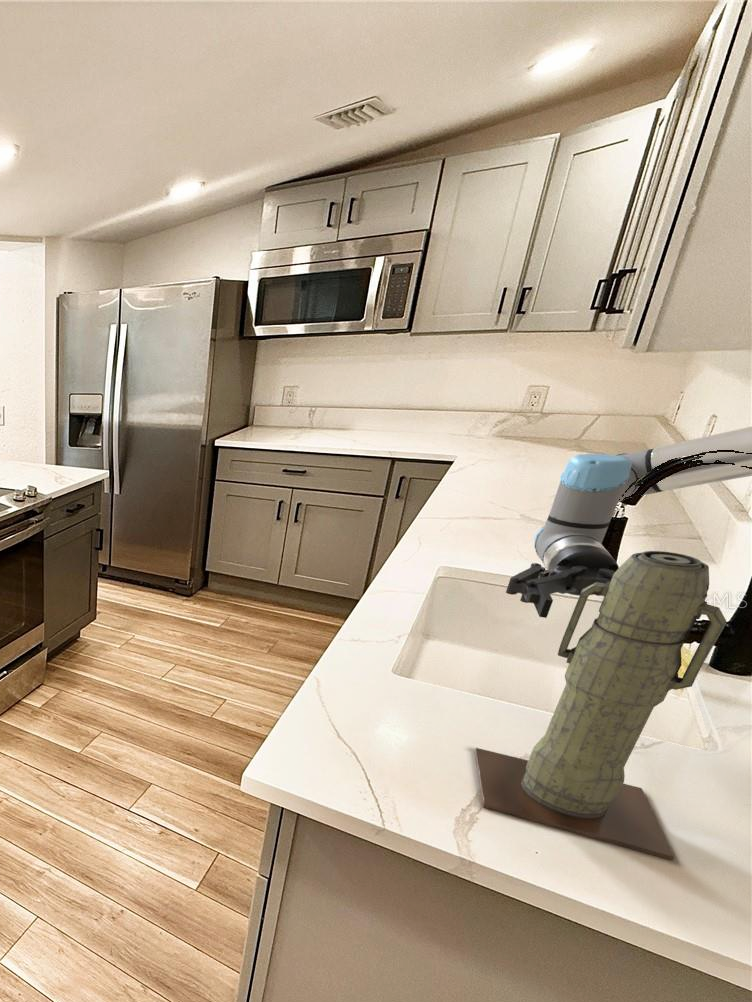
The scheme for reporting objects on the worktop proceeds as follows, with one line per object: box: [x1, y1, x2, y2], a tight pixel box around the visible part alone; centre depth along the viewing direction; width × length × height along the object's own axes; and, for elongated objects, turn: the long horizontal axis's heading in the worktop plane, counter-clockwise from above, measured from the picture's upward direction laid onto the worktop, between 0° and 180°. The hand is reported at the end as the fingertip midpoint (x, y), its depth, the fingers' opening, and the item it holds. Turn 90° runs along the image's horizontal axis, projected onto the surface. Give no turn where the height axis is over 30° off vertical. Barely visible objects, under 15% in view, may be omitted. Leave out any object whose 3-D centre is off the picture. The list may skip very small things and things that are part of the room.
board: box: [474, 747, 675, 861], centre depth 84 cm, size 18×14×1 cm
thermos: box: [521, 550, 727, 819], centre depth 77 cm, size 9×12×35 cm
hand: (613, 618), depth 82 cm, fingers open, 13 cm apart
